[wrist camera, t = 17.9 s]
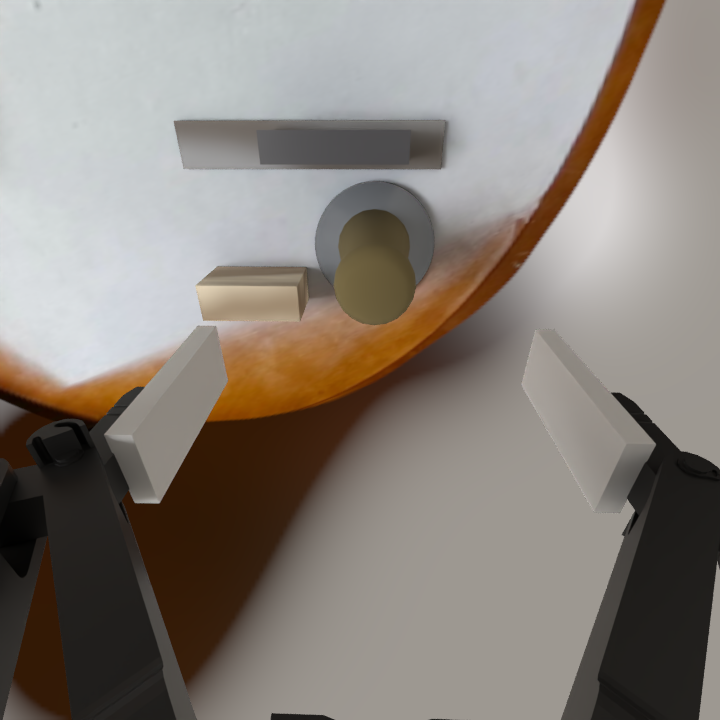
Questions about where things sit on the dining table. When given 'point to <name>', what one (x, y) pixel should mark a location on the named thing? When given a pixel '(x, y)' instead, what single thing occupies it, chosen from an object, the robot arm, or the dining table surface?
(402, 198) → the coaster
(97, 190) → the dining table surface
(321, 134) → the bar
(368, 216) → the olive pepper mill
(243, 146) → the assorted toy blocks
